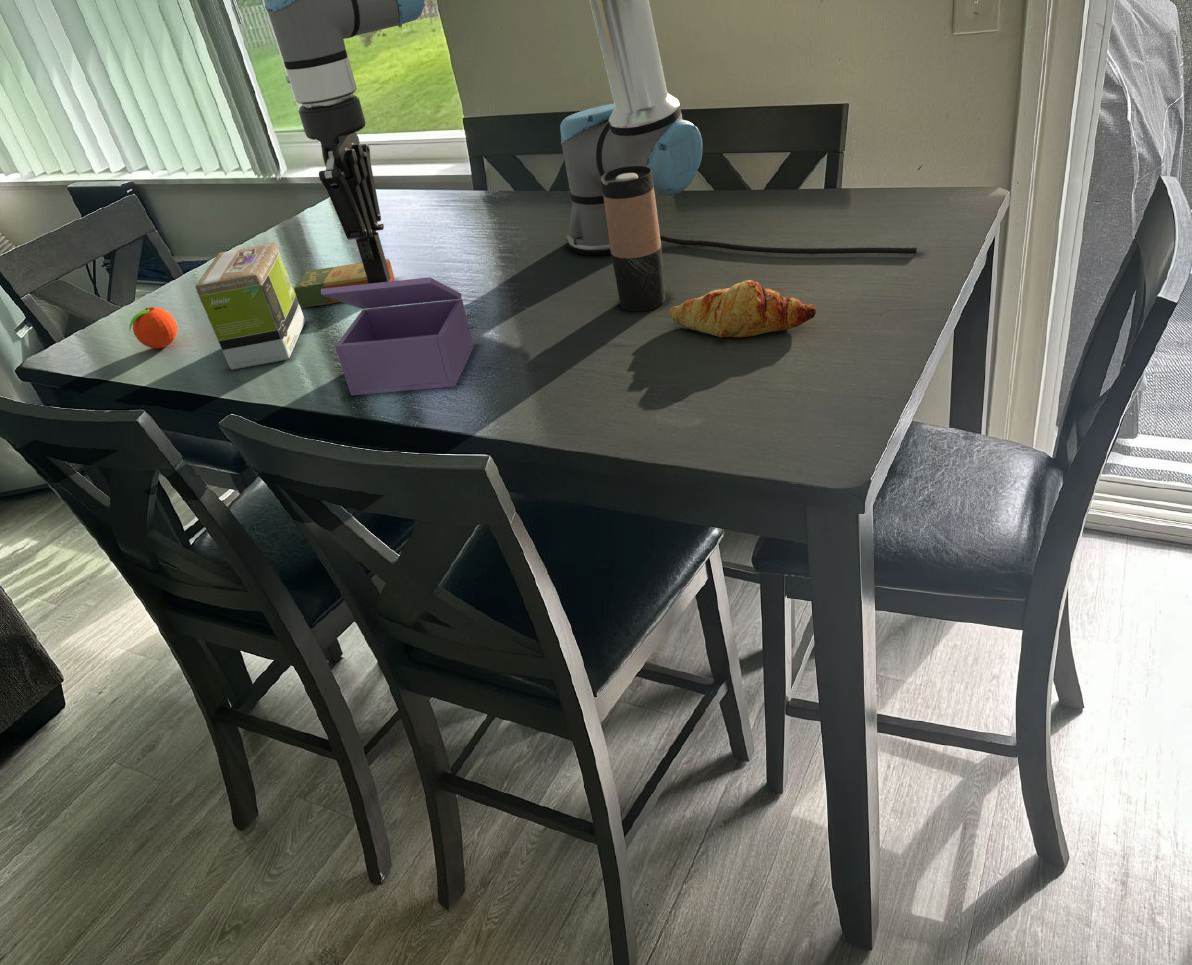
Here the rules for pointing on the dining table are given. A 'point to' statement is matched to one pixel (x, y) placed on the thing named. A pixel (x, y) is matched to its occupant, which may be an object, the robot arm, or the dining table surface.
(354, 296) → the lid
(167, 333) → the clementine
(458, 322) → the file box
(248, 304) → the tea box
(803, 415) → the dining table surface
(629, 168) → the travel mug
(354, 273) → the carton
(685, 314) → the croissant
